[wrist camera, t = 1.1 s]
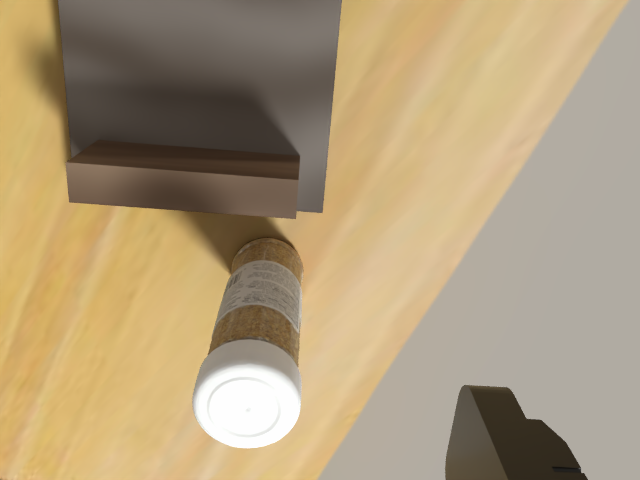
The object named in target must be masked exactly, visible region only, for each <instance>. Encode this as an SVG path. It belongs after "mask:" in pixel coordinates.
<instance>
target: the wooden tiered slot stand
mask: <svg viewBox="0 0 640 480" xmlns="http://www.w3.org/2000/svg"><path fill="white" fill-rule="evenodd" d="M341 3H342V0H58V6H59V18H60V29H61V41H62V52H63V64H64V76H65V87H66V99H67V111H68V122H69V134H70V145H71V157H72V158H71V159H70V160H68V161H67V162H66V172H67V183H68V194H69V202H72V203H86V204H99V205H113V206H126V207H140V208H154V209H167V210H181V211H194V212H208V213H222V214H235V215H249V216H262V217H276V218H290V219H296V211H303V212H317V213H322V212H323V201H324V190H325V179H326V168H327V157H328V146H329V135H330V124H331V113H332V102H333V91H334V80H335V69H336V58H337V47H338V36H339V25H340V14H341Z"/></svg>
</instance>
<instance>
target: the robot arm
mask: <svg viewBox="0 0 640 480" xmlns="http://www.w3.org/2000/svg"><path fill="white" fill-rule="evenodd" d="M445 471H446V472H445V473H446V480H588V479H587V477H586V476H585V474H584V473H581V467H580V466H579V464H578V462H577V461H576V459H575V457H574V455H573V454H572V452H571V450H570V448H569V447H568V445H567V443H566V442H565V441H564V440H563V439H562V438H561V437H559V436H558V435H557V434H556V433H555V432H554V431H553V430H552V429H550V428H549V427H548V426H547V425H546V424H545V423H544V422H543V421H542V420H535V419H526V417H525V415H524V413H523V411H522V410H521V407H520V406H519V404H518V402H517V400H516V398H515V396H514V394H513V392H512V391H511V390H510V389H509V388H507V387H490V386H472V385H471V386H470V385H464V386H463V387H462V388H461V390H460V393H459V396H458V401H457V406H456V411H455V416H454V421H453V426H452V431H451V436H450V441H449V445H448V450H447V456H446V467H445Z"/></svg>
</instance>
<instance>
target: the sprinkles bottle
mask: <svg viewBox="0 0 640 480" xmlns="http://www.w3.org/2000/svg"><path fill="white" fill-rule="evenodd" d="M302 280H303V265H302V262H301V259H300V257H299V256H298V254H297V252H296V250H294V249H293V248H292V247H290V246H289V245H288V244H286V243H285V242H283V241H280V240H277V239H273V238H261V239H256V240H253V241H251V242H249V243H247V244H245V245H244V246H243V247H242V248H241V249H240V250H239V251H238V253H237V254H236V255H235V257H234V259H233V263H232V266H231V276H230V278H229V280H228V282H227V285H226V289H225V292H224V295H223V299H222V302H221V305H220V309H219V312H218V316H217V320H216V323H215V327H214V330H213V334H212V341H211V344H210V349H209V353H208V356H207V357H206V358H205V360H204V361H203V363H202V365H201V367H200V370H199V373H198V376H197V380H196V384H195V388H194V393H193V411H194V414H195V417H196V419H197V421H198V423H199V424H200V426H201V427H202V428H203V429H204V431H205V432H206V433H208V434H209V435H210V436H211V437H213V438H214V439H216V440H218V441H219V442H222V443H224V444H227V445H229V446H233V447H239V448H257V447H262V446H266V445H269V444H271V443H274V442H276V441H278V440H280V439H281V438H282V437H284V436H285V435H286V434H287V433H288V432H289V431H290V430H291V429H292V427H293V426H294V425H295V423H296V421H297V419H298V416H299V413H300V407H301V387H302V384H301V375H300V372H299V369H298V355H299V344H300V343H299V338H300V327H301V314H302V290H301V283H302Z"/></svg>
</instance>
